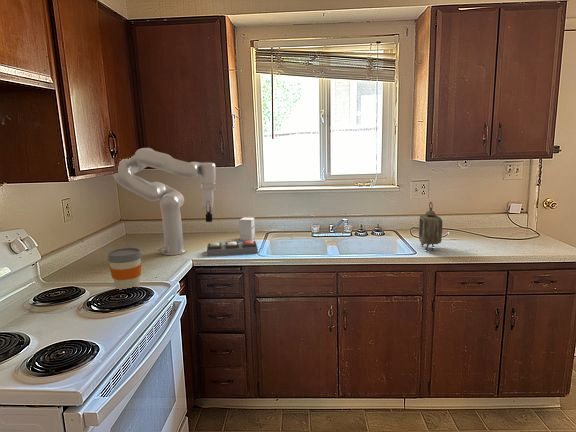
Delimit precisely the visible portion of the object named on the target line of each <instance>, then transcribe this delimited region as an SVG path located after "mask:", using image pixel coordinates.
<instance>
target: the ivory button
mask: <svg viewBox="0 0 576 432" xmlns="http://www.w3.org/2000/svg"><path fill="white" fill-rule="evenodd" d="M227 242H228V243H227V245H237V242H238V241H227Z"/></svg>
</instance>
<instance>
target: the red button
mask: <svg viewBox="0 0 576 432" xmlns="http://www.w3.org/2000/svg"><path fill="white" fill-rule="evenodd" d="M254 241H255V240H252V241H245V242H244V244H254Z"/></svg>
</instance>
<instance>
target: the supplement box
mask: <svg viewBox="0 0 576 432" xmlns="http://www.w3.org/2000/svg"><path fill="white" fill-rule="evenodd" d="M238 222H239V241H254V239H255V238H256V227H255V217H242V218H240V219H239V221H238Z"/></svg>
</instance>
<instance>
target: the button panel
mask: <svg viewBox="0 0 576 432" xmlns="http://www.w3.org/2000/svg"><path fill="white" fill-rule="evenodd" d="M241 241H242V240H241ZM253 241H254V244H244V242H245V241H242V242H241V243H239V241H236V242H237V245H227V243H228V242H229V241H227V242H225V244H222V242H218V243H219V244H220V246H210V243H207V246H206V256H207V257H214V256H215V257H216V256H217V257H218V256H228V255H229V256H233V255H247V254H250V255H251V254H259V252H258V251H259V250H258V248H259V247H258V245H257V242H256V240H253Z"/></svg>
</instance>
